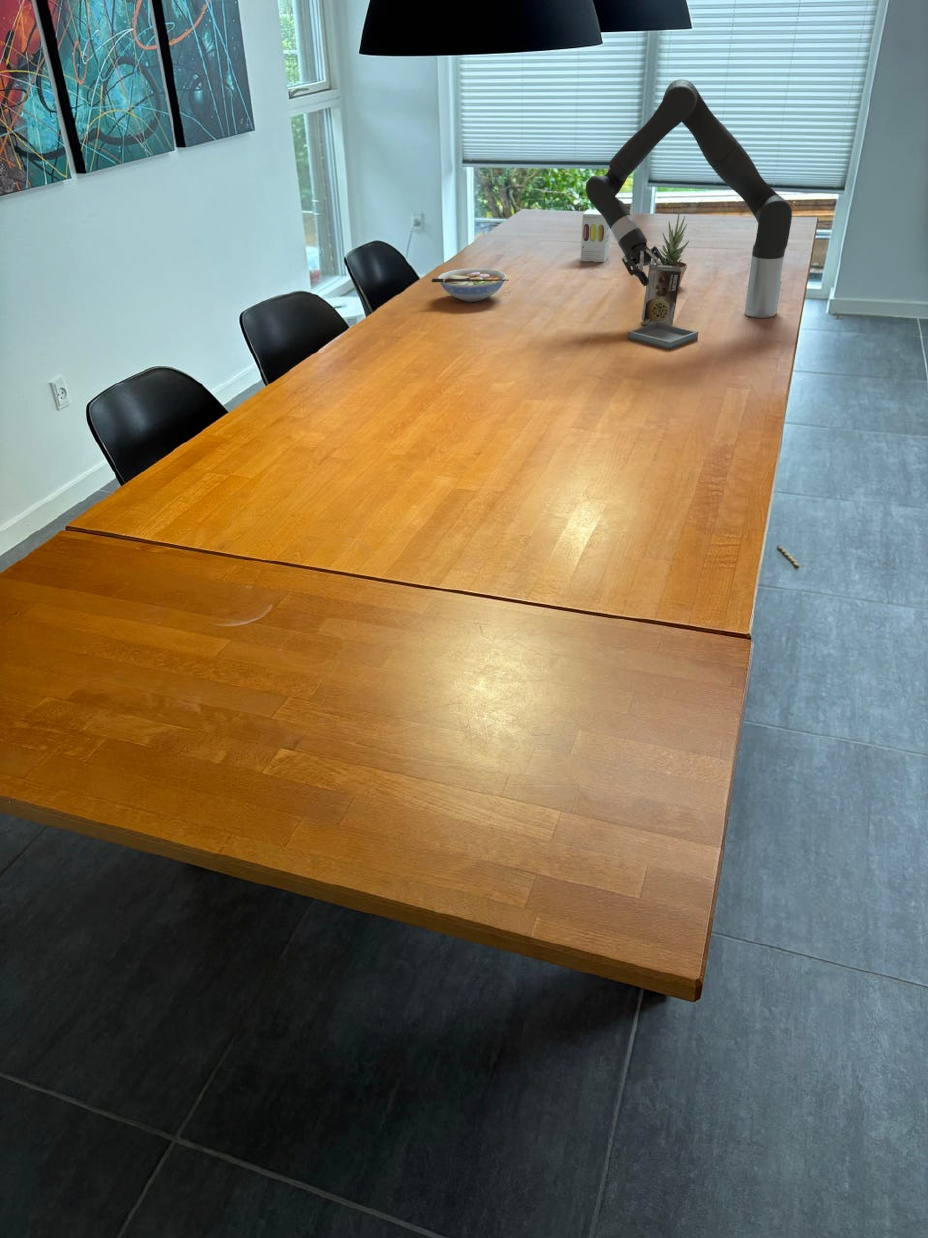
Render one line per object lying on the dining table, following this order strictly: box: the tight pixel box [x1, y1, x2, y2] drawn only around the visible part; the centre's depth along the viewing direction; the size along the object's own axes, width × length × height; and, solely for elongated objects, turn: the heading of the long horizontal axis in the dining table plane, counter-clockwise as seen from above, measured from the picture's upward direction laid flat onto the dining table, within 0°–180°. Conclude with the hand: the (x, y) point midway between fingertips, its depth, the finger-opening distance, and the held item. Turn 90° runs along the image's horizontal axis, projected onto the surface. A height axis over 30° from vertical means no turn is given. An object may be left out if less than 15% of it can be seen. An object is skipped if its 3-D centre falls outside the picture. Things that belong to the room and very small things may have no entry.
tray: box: [627, 322, 699, 351], centre depth 270 cm, size 13×15×2 cm
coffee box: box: [641, 264, 681, 326], centre depth 279 cm, size 9×6×16 cm
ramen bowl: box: [431, 267, 509, 303], centre depth 312 cm, size 25×23×8 cm
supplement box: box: [580, 208, 611, 263], centre depth 351 cm, size 10×9×17 cm
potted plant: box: [658, 208, 690, 287], centre depth 313 cm, size 10×10×25 cm
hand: (656, 281), depth 278 cm, fingers closed on coffee box, 8 cm apart
